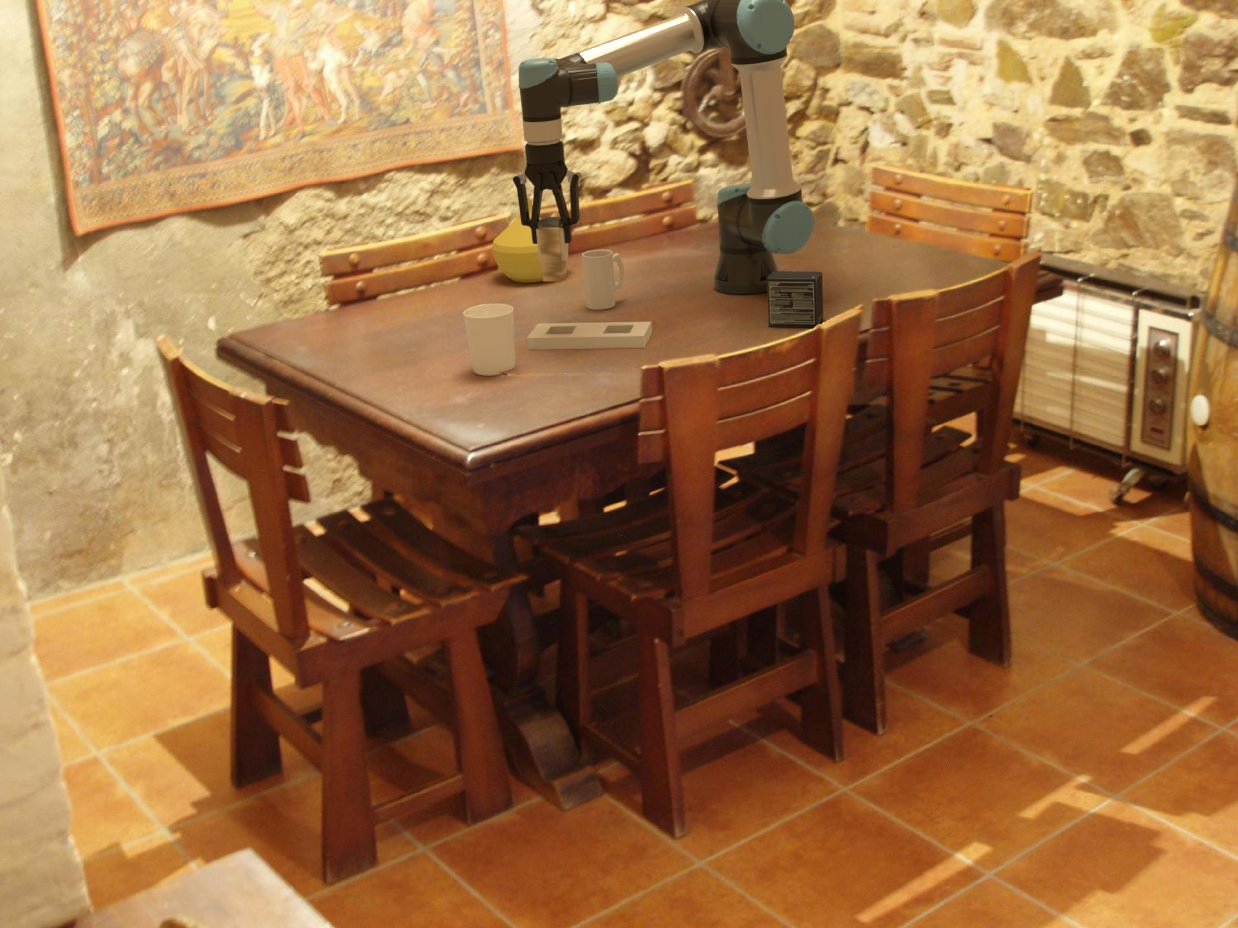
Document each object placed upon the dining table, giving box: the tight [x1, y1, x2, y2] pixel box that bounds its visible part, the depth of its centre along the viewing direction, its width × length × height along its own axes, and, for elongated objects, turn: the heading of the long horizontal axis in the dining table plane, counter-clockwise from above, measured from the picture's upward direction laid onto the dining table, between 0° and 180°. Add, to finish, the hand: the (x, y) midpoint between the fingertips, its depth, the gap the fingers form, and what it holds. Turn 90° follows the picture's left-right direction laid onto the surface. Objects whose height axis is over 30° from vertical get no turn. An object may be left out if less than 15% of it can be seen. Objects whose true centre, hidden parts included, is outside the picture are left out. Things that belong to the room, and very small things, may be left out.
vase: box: [491, 197, 569, 284], centre depth 342 cm, size 18×18×19 cm
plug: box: [538, 216, 568, 282], centre depth 285 cm, size 4×4×12 cm
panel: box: [526, 321, 653, 351], centre depth 291 cm, size 24×10×3 cm, turn 80°
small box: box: [766, 270, 824, 329], centre depth 293 cm, size 11×6×10 cm, turn 71°
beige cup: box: [462, 303, 516, 377], centre depth 278 cm, size 10×10×12 cm
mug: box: [581, 249, 625, 311], centre depth 316 cm, size 10×7×12 cm, turn 125°
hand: (553, 259), depth 286 cm, fingers closed on plug, 4 cm apart
